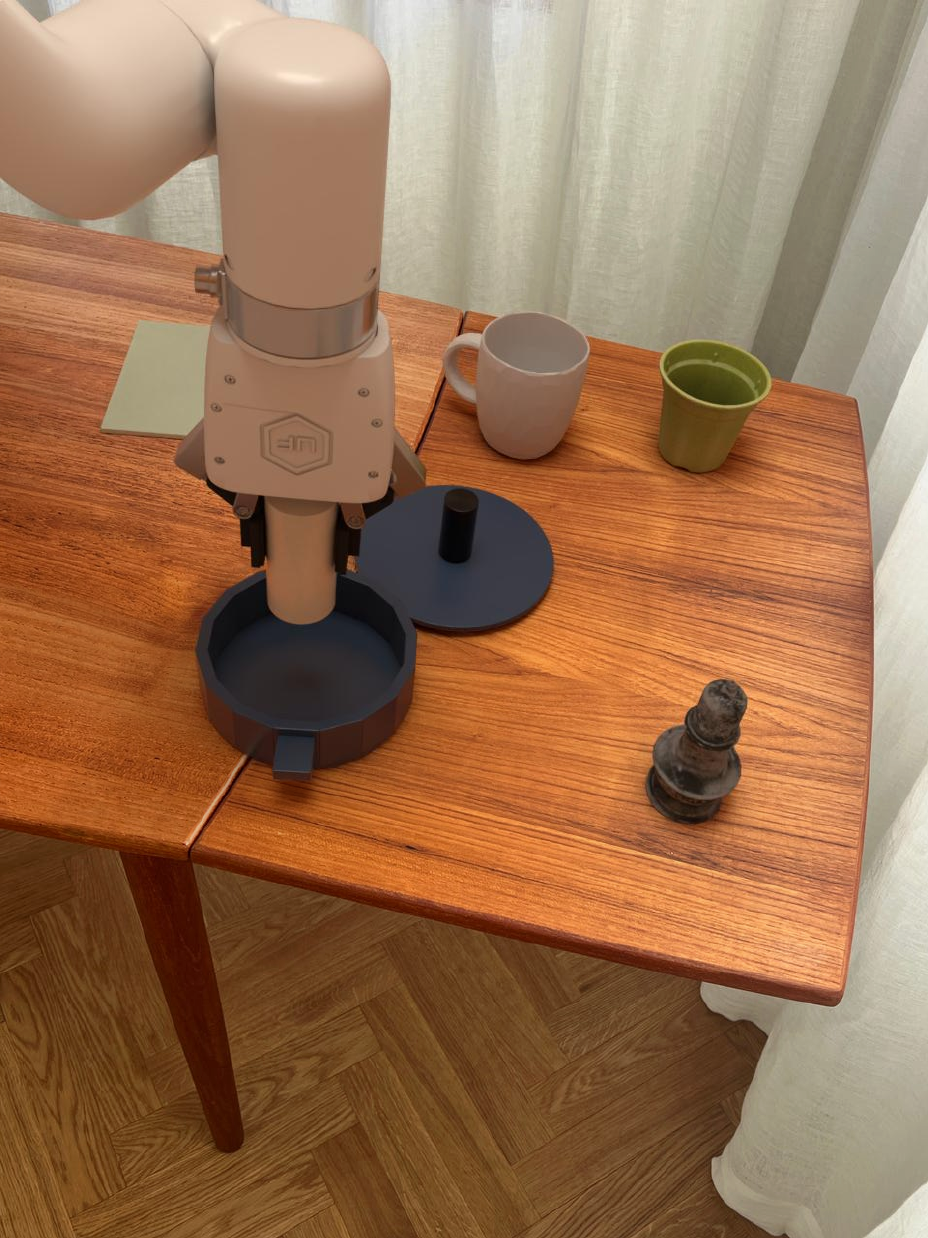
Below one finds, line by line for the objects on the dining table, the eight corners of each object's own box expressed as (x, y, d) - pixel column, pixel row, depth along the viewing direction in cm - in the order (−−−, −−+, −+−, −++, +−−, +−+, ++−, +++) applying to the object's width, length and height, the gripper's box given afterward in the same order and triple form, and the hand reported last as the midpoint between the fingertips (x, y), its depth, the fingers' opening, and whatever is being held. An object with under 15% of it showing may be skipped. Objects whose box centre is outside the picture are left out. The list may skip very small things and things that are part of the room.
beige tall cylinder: (262, 622, 70) (258, 513, 63) (271, 571, 73) (268, 462, 66) (332, 627, 71) (336, 520, 64) (338, 577, 74) (342, 469, 66)
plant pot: (673, 496, 95) (698, 416, 89) (619, 429, 101) (640, 348, 94) (762, 474, 98) (793, 394, 92) (705, 410, 104) (731, 331, 97)
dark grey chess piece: (711, 750, 78) (762, 640, 69) (738, 823, 74) (796, 716, 65) (630, 758, 77) (672, 646, 68) (654, 832, 73) (701, 725, 64)
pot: (177, 797, 71) (170, 758, 68) (225, 572, 84) (221, 529, 81) (405, 811, 72) (410, 773, 69) (417, 586, 85) (421, 545, 82)
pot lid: (346, 629, 82) (347, 567, 77) (361, 487, 92) (363, 424, 87) (555, 644, 83) (570, 583, 78) (547, 502, 93) (560, 440, 88)
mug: (586, 429, 100) (608, 335, 93) (542, 484, 95) (560, 388, 87) (464, 378, 103) (475, 282, 96) (414, 427, 98) (422, 330, 90)
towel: (100, 432, 93) (99, 428, 93) (139, 323, 104) (139, 319, 104) (339, 452, 95) (339, 447, 94) (353, 342, 105) (353, 338, 105)
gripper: (113, 325, 52) (151, 588, 66) (470, 361, 53) (435, 612, 67) (145, 240, 57) (174, 501, 71) (471, 275, 58) (438, 525, 72)
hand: (301, 553), depth 69 cm, fingers closed on beige tall cylinder, 4 cm apart
